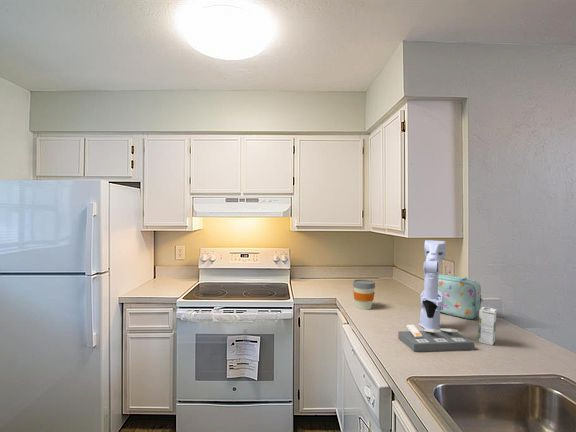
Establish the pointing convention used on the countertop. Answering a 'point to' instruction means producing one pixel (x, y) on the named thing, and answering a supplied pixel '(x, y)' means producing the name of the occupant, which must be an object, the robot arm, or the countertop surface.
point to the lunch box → (460, 296)
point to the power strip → (436, 341)
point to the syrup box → (487, 325)
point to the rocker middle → (432, 330)
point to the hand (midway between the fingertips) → (430, 317)
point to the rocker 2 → (449, 330)
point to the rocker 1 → (414, 331)
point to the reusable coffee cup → (363, 293)
